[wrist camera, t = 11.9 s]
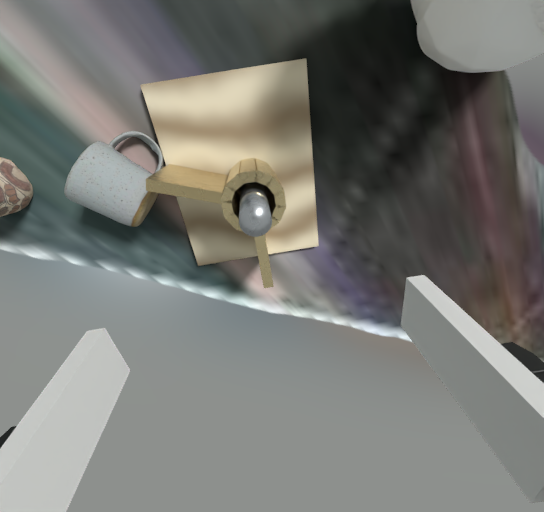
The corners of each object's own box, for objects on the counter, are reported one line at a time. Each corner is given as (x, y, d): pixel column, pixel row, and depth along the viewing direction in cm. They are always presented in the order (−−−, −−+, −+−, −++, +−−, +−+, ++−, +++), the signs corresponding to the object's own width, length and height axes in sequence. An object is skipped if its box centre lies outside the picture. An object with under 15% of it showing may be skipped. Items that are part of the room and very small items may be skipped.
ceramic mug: (148, 219, 38) (128, 241, 32) (89, 188, 36) (52, 204, 29) (181, 154, 35) (166, 163, 28) (118, 114, 32) (84, 113, 25)
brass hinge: (166, 164, 34) (141, 179, 26) (272, 147, 34) (280, 156, 26) (198, 265, 41) (186, 300, 33) (286, 250, 41) (295, 282, 33)
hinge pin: (239, 175, 35) (235, 208, 23) (261, 171, 35) (269, 202, 23) (243, 197, 37) (242, 239, 25) (264, 193, 37) (274, 233, 25)
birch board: (143, 85, 31) (140, 84, 30) (304, 59, 31) (306, 58, 30) (199, 262, 42) (198, 265, 41) (316, 243, 42) (318, 246, 41)
